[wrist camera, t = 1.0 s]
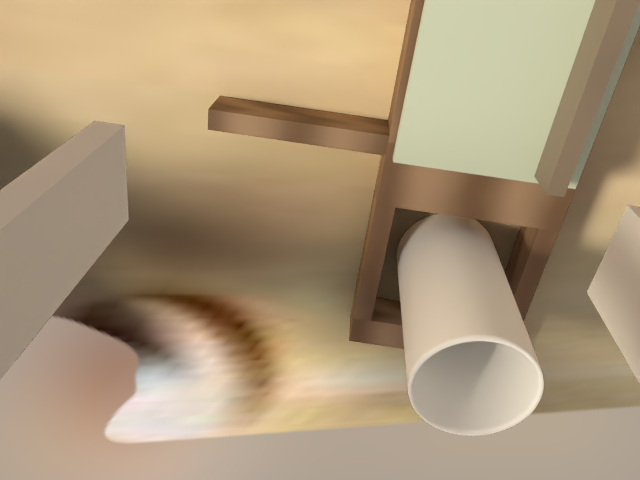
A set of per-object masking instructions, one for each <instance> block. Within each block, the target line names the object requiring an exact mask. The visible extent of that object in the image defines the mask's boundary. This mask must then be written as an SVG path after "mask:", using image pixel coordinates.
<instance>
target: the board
mask: <svg viewBox="0 0 640 480" xmlns="http://www.w3.org/2000/svg"><path fill="white" fill-rule="evenodd" d="M424 1H425V0H411V4H410V10H409V15H408V20H407V25H406V30H405V35H404V41H403V46H402V51H401V56H400V61H399V67H398V72H397V77H396V82H395V87H394V93H393V98H392V103H391V108H390V113H389V119H388V120H381V119H374V118H368V117H361V116H354V115H347V114H340V113H333V112H327V111H320V110H313V109H306V108H299V107H293V106H286V105H279V104H272V103H265V102H258V101H252V100H245V99H238V98H231V97H224V96H219V97H218V99H217V100H216V101H215V102H214V103H213V105H212V106H211V107H210V108H209V109H208V130H215V131H222V132H229V133H235V134H242V135H249V136H256V137H263V138H270V139H276V140H283V141H290V142H297V143H304V144H310V145H317V146H324V147H331V148H338V149H344V150H351V151H358V152H365V153H372V154H378V155H381V160H380V165H379V170H378V176H377V181H376V186H375V191H374V196H373V202H372V207H371V212H370V217H369V222H368V228H367V233H366V238H365V243H364V248H363V254H362V259H361V264H360V269H359V274H358V279H357V285H356V290H355V295H354V300H353V305H352V311H351V316H350V335H349V341H355V342H362V343H369V344H375V345H382V346H389V347H396V348H402V349H404V341H403V328H402V316H401V304H400V301H394V300H387V299H381V298H376V295H377V291H378V286H379V281H380V277H381V272H382V268H383V263H384V258H385V254H386V249H387V245H388V240H389V235H390V231H391V226H392V222H393V217H394V212H395V208H402V209H409V210H416V211H423V212H429V213H436V214H443V215H450V216H457V217H463V218H470V219H477V220H484V221H491V222H497V223H504V224H511V225H518V226H521V229H520V232H519V234H518V237H517V240H516V243H515V246H514V249H513V252H512V254H511V257H510V260H509V263H508V266H507V269H506V271H505V275H506V278H507V280H508V283H509V286H510V288H511V291H512V293H513V296H514V299H515V301H516V304H517V306H518V309H519V312H520V314H521V317H522V320H523V321H524V319H525V316H526V314H527V311H528V308H529V306H530V303H531V301H532V298H533V296H534V293H535V291H536V288H537V286H538V283H539V281H540V278H541V275H542V273H543V270H544V268H545V265H546V263H547V260H548V258H549V255H550V253H551V250H552V247H553V245H554V242H555V240H556V237H557V235H558V232H559V230H560V227H561V225H562V222H563V219H564V217H565V214H566V212H567V209H568V207H569V204H570V202H571V199H572V197H573V194H574V191H575V189H572V188H567V191H566V194H565V196H564V197H560V196H553V195H546V194H545V192H544V191H543V189H542V188H541V186H540V184H538V183H531V182H524V181H517V180H510V179H504V178H497V177H490V176H483V175H476V174H469V173H463V172H456V171H449V170H442V169H435V168H429V167H422V166H415V165H408V164H401V163H395V162H393V153H394V148H395V143H396V139H397V134H398V129H399V124H400V119H401V114H402V109H403V104H404V99H405V94H406V89H407V85H408V80H409V75H410V70H411V65H412V60H413V55H414V50H415V45H416V40H417V36H418V31H419V26H420V21H421V16H422V11H423V6H424Z"/></svg>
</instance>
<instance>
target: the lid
mask: <svg viewBox="0 0 640 480" xmlns="http://www.w3.org/2000/svg"><path fill="white" fill-rule="evenodd" d="M639 26H640V0H425V1H424V6H423V11H422V16H421V21H420V26H419V31H418V36H417V40H416V45H415V50H414V55H413V60H412V65H411V70H410V75H409V80H408V85H407V89H406V94H405V99H404V104H403V109H402V114H401V119H400V124H399V129H398V134H397V139H396V143H395V148H394V153H393V162H395V163H401V164H408V165H415V166H422V167H429V168H435V169H442V170H449V171H456V172H463V173H469V174H476V175H483V176H490V177H497V178H504V179H510V180H517V181H524V182H531V183H538V184H540V186H541V188H542V189H543V191H544V192H545V194H546V195H553V196H560V197H564V196H565V194H566V191H567V188H572V189H576V187H577V184H578V182H579V179H580V177H581V174H582V171H583V169H584V166H585V164H586V161H587V159H588V156H589V154H590V151H591V149H592V146H593V143H594V141H595V138H596V136H597V133H598V131H599V128H600V126H601V123H602V121H603V118H604V115H605V113H606V110H607V108H608V105H609V103H610V100H611V98H612V95H613V93H614V90H615V88H616V85H617V82H618V80H619V77H620V75H621V72H622V70H623V67H624V65H625V62H626V60H627V57H628V54H629V52H630V49H631V47H632V44H633V42H634V39H635V37H636V34H637V32H638V29H639Z"/></svg>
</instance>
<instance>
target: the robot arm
mask: <svg viewBox="0 0 640 480" xmlns="http://www.w3.org/2000/svg"><path fill="white" fill-rule="evenodd" d="M128 220H129V216H128V193H127V170H126V146H125V125H119V124H112V123H106V122H100V121H94V122H92V123H91V124H90V125H88V126H87V127H86V128H84V129H83V130H81V131H80V132H79V133H77V134H76V135H75V136H73V137H72V138H71V139H69V140H68V141H66V142H65V143H64V144H62V145H61V146H60V147H58V148H57V149H55V150H54V151H53V152H51V153H50V154H49V155H47V156H46V157H45V158H43V159H42V160H40V161H39V162H38V163H36V164H35V165H34V166H32V167H31V168H29V169H28V170H27V171H25V172H24V173H23V174H21V175H20V176H19V177H17V178H16V179H14V180H13V181H12V182H10V183H9V184H8V185H6V186H5V187H3V188H2V189H1V190H0V380H1V378H2V377H3V376H4V375H5V373H6V372H7V371H8V370H9V368H10V367H11V366H12V365H13V363H14V362H15V361H16V359H17V358H18V357H19V356H20V355H21V353H22V352H23V351H24V350H25V348H26V347H27V346H28V345H29V343H30V342H31V341H32V340H33V339H34V337H35V336H36V335H37V334H38V332H39V331H40V330H41V329H42V327H43V326H44V325H45V324H46V322H47V321H48V320H49V319H50V317H51V316H52V315H53V314H54V312H55V311H56V310H57V309H58V307H59V306H60V305H61V304H62V302H63V301H64V300H65V299H66V297H67V296H68V295H69V294H70V292H71V291H72V290H73V289H74V287H75V286H76V285H77V284H78V283H79V281H80V280H81V279H82V278H83V276H84V275H85V274H86V273H87V271H88V270H89V269H90V268H91V266H92V265H93V264H94V263H95V261H96V260H97V259H98V258H99V256H100V255H101V254H102V253H103V251H104V250H105V249H106V248H107V246H108V245H109V244H110V243H111V241H112V240H113V239H114V238H115V236H116V235H117V234H118V233H119V231H120V230H121V229H122V228H123V227H124V225H125V224H126V223H127V222H128ZM587 294H588V296H589V297H590V299H591V301H592V302H593V304H594V306H595V308H596V309H597V311H598V313H599V314H600V316H601V318H602V320H603V321H604V323H605V325H606V327H607V328H608V330H609V332H610V333H611V335H612V337H613V339H614V340H615V342H616V344H617V346H618V347H619V349H620V351H621V352H622V354H623V356H624V358H625V359H626V361H627V363H628V364H629V366H630V368H631V370H632V371H633V373H634V375H635V377H636V378H637V380H638V382H639V383H640V207H637V206H630V205H627V207H626V209H625V212H624V214H623V216H622V218H621V220H620V222H619V224H618V227H617V229H616V231H615V233H614V235H613V237H612V239H611V242H610V244H609V246H608V248H607V250H606V252H605V254H604V257H603V259H602V261H601V263H600V265H599V267H598V269H597V272H596V274H595V276H594V278H593V280H592V282H591V284H590V287H589V289H588V291H587Z"/></svg>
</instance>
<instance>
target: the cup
mask: <svg viewBox="0 0 640 480" xmlns="http://www.w3.org/2000/svg"><path fill="white" fill-rule="evenodd" d="M397 267H398V279H399V291H400V304H401V316H402V328H403V341H404V353H405V365H406V377H407V389H408V395H409V399H410V402H411V404H412V407H413V408H414V410H415V411H416V413H417V414H418V415H419V416H420V417H421V418H422V419H423V420H424V421H425V422H427V423H428V424H430V425H431V426H433V427H435V428H437V429H439V430H442V431H444V432H448V433H451V434H456V435H464V436H481V435H488V434H493V433H497V432H500V431H503V430H506V429H508V428H511V427H513V426H515V425H517V424H518V423H520V422H521V421H523V420H524V419H525V418H527V417H528V416H529V415H530V414H531V413H532V412H533V411H534V409H535V408H536V407H537V405H538V403H539V402H540V400H541V397H542V394H543V389H544V379H543V374H542V370H541V367H540V364H539V362H538V359H537V356H536V354H535V351H534V348H533V346H532V343H531V340H530V338H529V335H528V333H527V330H526V327H525V325H524V322H523V320H522V317H521V314H520V312H519V309H518V306H517V304H516V301H515V299H514V296H513V293H512V291H511V288H510V286H509V283H508V280H507V278H506V275H505V272H504V270H503V267H502V265H501V262H500V259H499V257H498V254H497V252H496V249H495V246H494V244H493V241H492V239H491V236H490V235H489V233H488V231H487V230H486V229H485V228H484V227H483V226H482V225H481V224H480V223H479V222H478V221H476V220H474V219H470V218H463V217H457V216H450V215H443V214H435V215H431V216H428V217H426V218H423V219H421V220H419V221H418V222H416V223H415V224H414V225H412V226H411V227H410V228H409V229H408V230H407V231H406V232H405V234H404V235H403V237H402V239H401V240H400V243H399V246H398V250H397Z"/></svg>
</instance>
